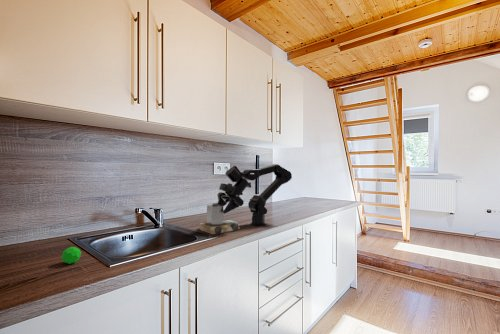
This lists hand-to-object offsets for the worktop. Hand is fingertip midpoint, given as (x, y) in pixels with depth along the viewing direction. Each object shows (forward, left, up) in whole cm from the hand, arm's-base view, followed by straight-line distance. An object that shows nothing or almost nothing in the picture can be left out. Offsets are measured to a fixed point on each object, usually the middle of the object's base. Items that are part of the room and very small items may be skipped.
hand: (219, 211), depth 123 cm
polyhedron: (+60, +8, -9) cm, 61 cm away
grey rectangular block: (+2, 0, -8) cm, 8 cm away
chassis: (-1, 0, -9) cm, 9 cm away
